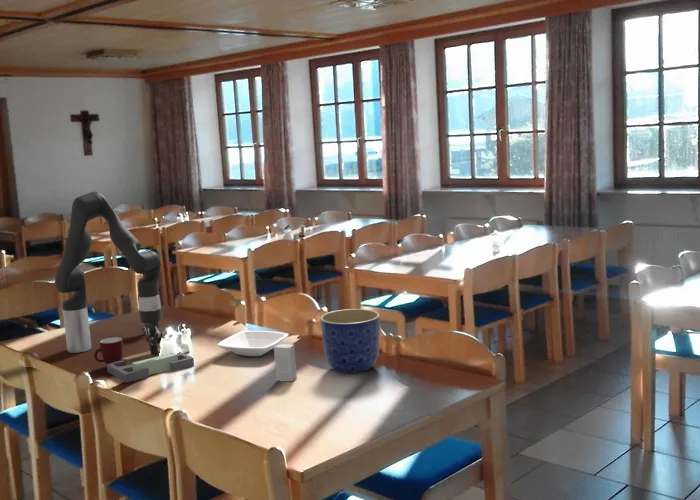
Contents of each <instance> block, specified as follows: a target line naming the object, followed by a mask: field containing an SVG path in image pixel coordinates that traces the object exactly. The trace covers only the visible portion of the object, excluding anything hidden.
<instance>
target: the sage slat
mask: <svg viewBox="0 0 700 500" xmlns="http://www.w3.org/2000/svg"><path fill="white" fill-rule="evenodd" d="M174 361H178V357H177V354H174V353H170V354H166V355H162V356H158V357H154V358H150V359H146V360H142V361H138V362H134V363H132V367H133V371H136V370H140V369H144V368H148V369H149V376H151V375H154V374H158V373H159V374H160V373H162V372H165V371H171V365H170V362H174Z"/></svg>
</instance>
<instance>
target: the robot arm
mask: <svg viewBox="0 0 700 500" xmlns="http://www.w3.org/2000/svg"><path fill="white" fill-rule="evenodd" d="M99 217H102V218H103V219H105V220H106V222H107V224H108V230H109V237H110V239H111V241H112V243H113V244H114V246H115V247H116V248H117V249H118V250H119V251H120V252H121V253H122V254H123V256H124V257H125V259H126V262H127V264H128V265H129V267H130V269H131V270H132V271H133V272H135V273H136V274H140V275H141V274H143V275H144V276H143V277H142V278H141V279H140V280H138V282H137V292H138V295H139V301H138V312H139V320H140V322H141V323H143V324H144V327H141V330H142V332H143V335H144V338H145V341H146V342H147V343H148V345H149V349H150V350H149V351H150V352H151V355H153V356H154V355H158V349H159V348H158V347H159V346H158V345H160V344H161V341H162V338H163V335H164V334H163V331H160V326H159V322H160V321H162V318H163V317H162V305H161V297H160V298H159V294H160V291H159V284H158V283H159V279H160V272H161V264H162V263H161V258H160V256H159V254H158V253H157V252H155V251H153V250H152V251H151V250H150V251H145V252H139V251H140V250H141V248H142V244H141V242H140V240H138V239H137V237H136V236H134V234H132V232H131V231H130V230H129V229H128V228H127V227H126V226H125V224H124V223H123V222H122V221H121V219H120V217H119V216H118V214H117V213H116V211H115V210H114V209H113V206H111V204H110V203H109V202H108V200H107V199H106V197H105V196H104V195H103V194H102V193H100V192H99V191H92V192H88V193H84V194H82V195H79V196H77V197H76V198H75V199H74V200H73V202H72V205H71V213H70V223H69V228H68V232H67V237H66V240H65V244H64V247H63V248H64V249H63V254H62V258H61V261H60V263H59V266H58V267H57V271H56V273H55V277H54V287H55V288H56V290H57V291H58V292H59V293H60V294H61V293H62V294H67V293H73V292H74V293H73V295H72V296H70V297H69V298H67V299H66V300H64V301H63V302H62V304H61V305H62V307H61V308H62V314H63V322H64V331H65V340H66V349H67V352H68V353H70V354H77V353H78V354H79V353H84V352H88V351H90V350H91V349H92V339H91V332H90V323H89V322H90V321H89V315H88V314H89V312H88V305H87V304H88V303H87V302H88V298H87V296H88V295H87V280H86V279H87V278H86V274H85V272H84V270H83V268H81V267H79V265H81V264H82V263H83V262H84V261H85V260H86V259H87V258H88V256H89V254H90V251H91V248H92V244H93V239H92V235H91V234H90V232H89V231H88V230H87V224H88V222H89V221H91V220H94V219H96V218H99ZM138 295H137V296H138Z"/></svg>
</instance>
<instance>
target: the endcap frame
mask: <svg viewBox="0 0 700 500" xmlns="http://www.w3.org/2000/svg"><path fill="white" fill-rule="evenodd" d="M177 357H178V361H174V362H170V365H171V369H170V371H172V372H175V371H178V370H184V369H186V368H187V367H188V368H190V367H191V366H192V367H194V366H195V361H194V359H195V358H194V357H192V356H190V355H188V354H185V353H183V352H181V351H179V353H177ZM183 368H184V369H183ZM106 369H107V370H106V371H107V373H109V374H111V375H113V376H114V377H116V378H118V379H119V380H121V381H123V383H127V384H128V383H130V382H135V381H139V380H143V379H147V378H149V377H150V375H149V369H148V368H144V369H140V370H136V371H133V367H132V364H129V365H125V366H123V359H122V360H121V361H117V362H113V363H108V364H107V365H106Z"/></svg>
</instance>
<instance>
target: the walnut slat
mask: <svg viewBox="0 0 700 500" xmlns="http://www.w3.org/2000/svg"><path fill="white" fill-rule="evenodd" d="M161 348H162V347H159V348H158V355H154V356H153V355H151V352H150V350H148V351H145V352H141V353H137V354H134V355H129V356H126V357H122V360H123V366H125V365H129V364H132V363H134V362H138V361H142V360H146V359H150V358H154V357H158V356H159V353H160V349H161Z"/></svg>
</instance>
